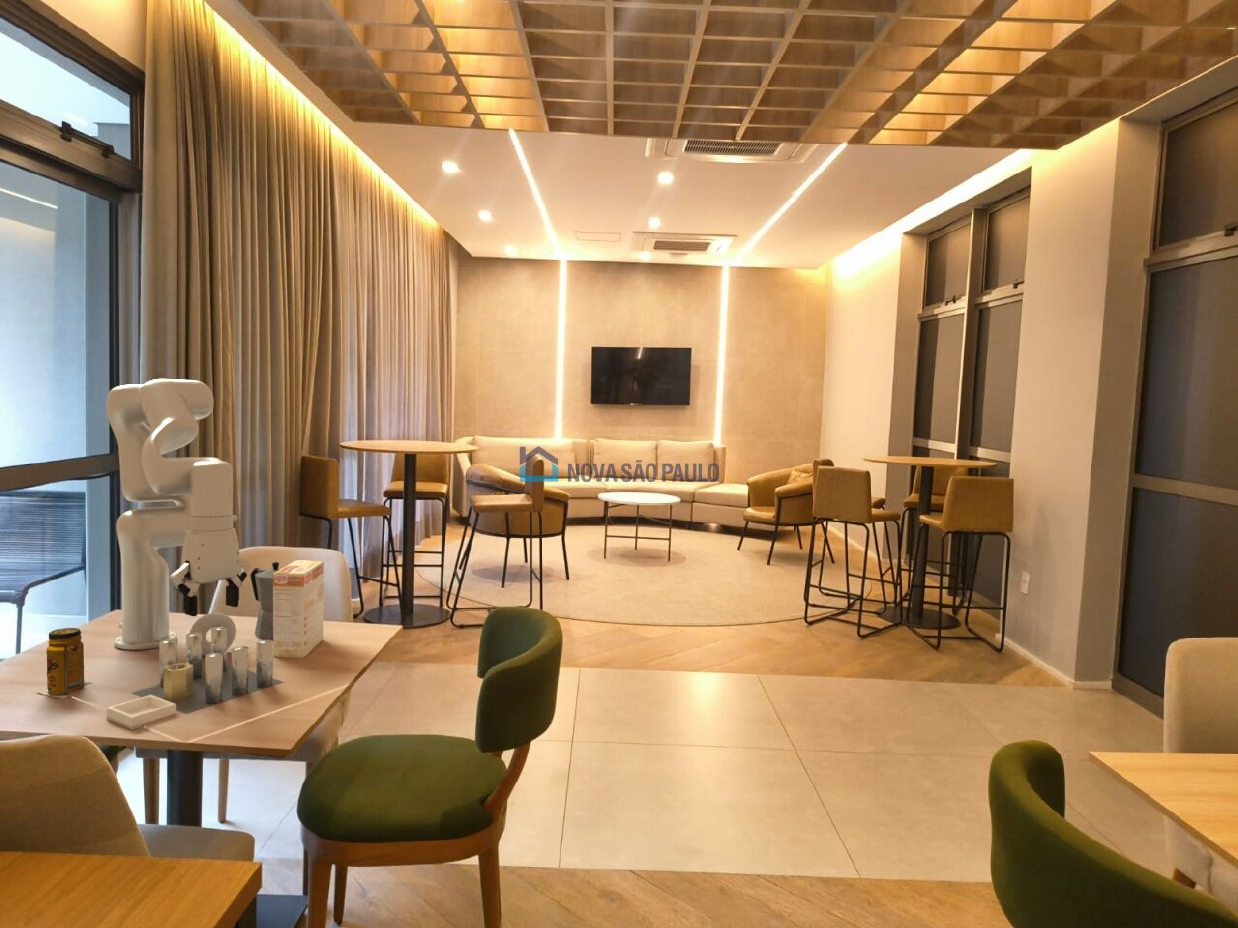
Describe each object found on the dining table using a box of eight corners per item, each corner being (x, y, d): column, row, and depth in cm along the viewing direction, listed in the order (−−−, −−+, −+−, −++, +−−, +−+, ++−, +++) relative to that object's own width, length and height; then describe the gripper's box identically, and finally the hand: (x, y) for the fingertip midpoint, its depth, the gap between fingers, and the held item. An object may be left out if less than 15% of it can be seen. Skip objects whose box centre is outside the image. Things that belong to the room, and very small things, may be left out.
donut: (192, 663, 179) (192, 618, 178) (186, 659, 182) (186, 614, 181) (238, 653, 187) (238, 610, 186) (232, 650, 189) (232, 607, 188)
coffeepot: (309, 634, 203) (309, 562, 202) (277, 643, 195) (277, 568, 194) (267, 623, 211) (267, 554, 209) (234, 632, 202) (234, 560, 201)
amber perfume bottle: (175, 703, 155) (175, 672, 155) (159, 697, 158) (159, 666, 157) (197, 696, 159) (196, 666, 159) (181, 691, 162) (181, 661, 161)
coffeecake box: (295, 638, 199) (295, 559, 198) (324, 639, 200) (325, 560, 198) (271, 658, 184) (271, 572, 183) (303, 659, 185) (303, 573, 183)
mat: (131, 694, 160) (131, 692, 160) (229, 666, 178) (229, 664, 178) (186, 715, 151) (186, 713, 151) (284, 683, 169) (284, 681, 169)
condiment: (36, 693, 159) (35, 632, 158) (79, 679, 167) (78, 622, 166) (62, 699, 156) (61, 637, 155) (104, 685, 164) (103, 627, 163)
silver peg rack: (156, 685, 164) (156, 641, 163) (221, 667, 176) (221, 626, 175) (211, 705, 155) (211, 658, 154) (275, 684, 167) (276, 641, 166)
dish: (106, 719, 148) (106, 707, 148) (151, 705, 155) (150, 694, 154) (131, 729, 144) (131, 717, 144) (176, 715, 151) (176, 703, 150)
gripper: (239, 517, 171) (239, 599, 173) (157, 526, 156) (157, 616, 158) (262, 520, 168) (262, 604, 169) (180, 531, 153) (180, 623, 154)
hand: (212, 610), depth 163 cm, fingers open, 8 cm apart
